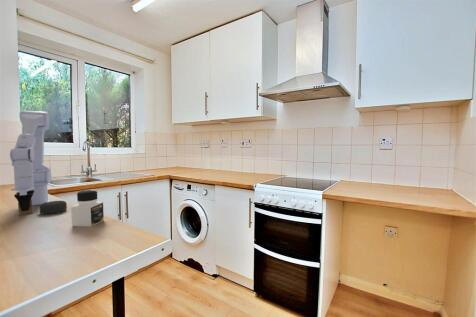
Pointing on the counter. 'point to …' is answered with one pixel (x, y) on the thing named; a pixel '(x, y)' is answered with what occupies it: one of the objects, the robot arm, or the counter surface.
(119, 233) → the counter surface
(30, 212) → the walnut block
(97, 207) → the medicine bottle
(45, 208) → the smart speaker
